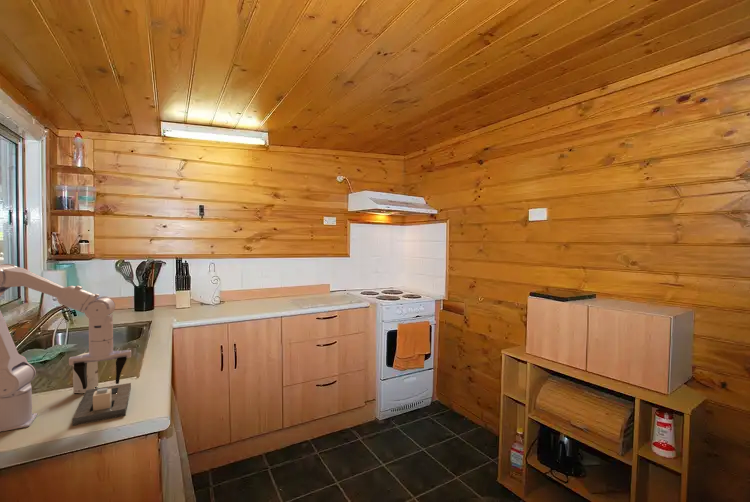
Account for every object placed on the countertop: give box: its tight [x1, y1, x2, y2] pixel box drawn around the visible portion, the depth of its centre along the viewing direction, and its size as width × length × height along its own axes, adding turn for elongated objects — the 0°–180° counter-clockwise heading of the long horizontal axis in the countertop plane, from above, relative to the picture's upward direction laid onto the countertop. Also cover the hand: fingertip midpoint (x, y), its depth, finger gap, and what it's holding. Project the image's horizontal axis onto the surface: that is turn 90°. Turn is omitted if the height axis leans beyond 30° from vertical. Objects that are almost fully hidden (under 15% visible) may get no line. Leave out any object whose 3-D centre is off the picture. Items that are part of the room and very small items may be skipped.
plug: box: [93, 388, 112, 411], centre depth 109 cm, size 4×4×7 cm
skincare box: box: [72, 352, 99, 394], centre depth 124 cm, size 6×4×12 cm
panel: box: [72, 382, 132, 427], centre depth 113 cm, size 12×22×2 cm, turn 30°
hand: (101, 385), depth 108 cm, fingers open, 7 cm apart
